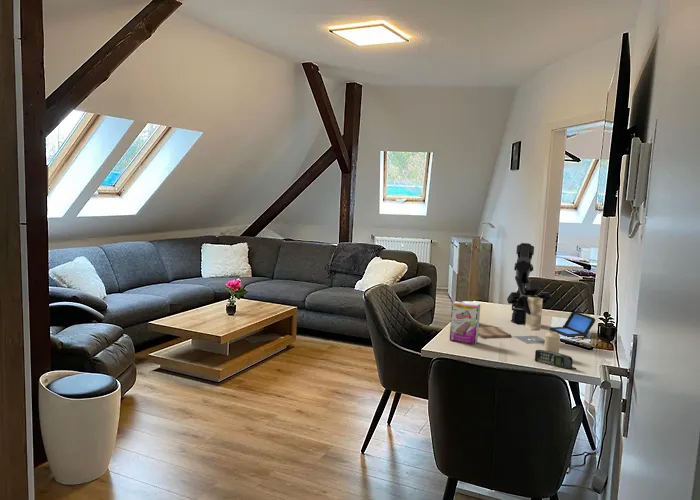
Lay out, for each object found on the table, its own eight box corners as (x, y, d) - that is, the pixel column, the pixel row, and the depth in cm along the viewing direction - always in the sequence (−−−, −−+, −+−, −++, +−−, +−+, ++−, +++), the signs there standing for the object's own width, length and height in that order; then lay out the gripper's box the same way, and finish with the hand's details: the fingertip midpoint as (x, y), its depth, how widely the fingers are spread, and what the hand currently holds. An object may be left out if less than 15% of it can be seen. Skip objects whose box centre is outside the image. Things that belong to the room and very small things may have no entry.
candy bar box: (449, 340, 227) (451, 302, 226) (452, 338, 232) (454, 301, 230) (475, 344, 223) (478, 306, 221) (477, 342, 227) (480, 304, 225)
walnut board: (495, 329, 251) (495, 327, 250) (511, 337, 237) (511, 334, 237) (468, 330, 247) (468, 327, 247) (482, 338, 234) (482, 335, 234)
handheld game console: (548, 330, 255) (549, 311, 254) (571, 329, 258) (572, 310, 258) (570, 339, 240) (572, 319, 239) (594, 338, 244) (596, 318, 243)
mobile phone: (534, 349, 203) (575, 357, 193) (537, 348, 205) (577, 356, 195) (533, 362, 203) (574, 371, 194) (536, 360, 206) (577, 369, 196)
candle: (541, 354, 213) (543, 329, 212) (554, 354, 213) (556, 330, 212) (547, 358, 207) (549, 333, 206) (561, 358, 208) (563, 333, 207)
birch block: (534, 327, 237) (536, 296, 235) (540, 330, 232) (542, 298, 231) (525, 328, 236) (527, 296, 234) (531, 330, 231) (533, 298, 230)
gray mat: (536, 336, 242) (536, 335, 242) (552, 343, 230) (552, 343, 230) (512, 336, 239) (512, 336, 239) (527, 344, 227) (527, 343, 227)
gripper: (512, 274, 234) (522, 304, 224) (550, 274, 238) (563, 304, 228) (502, 288, 243) (512, 318, 233) (539, 288, 246) (551, 317, 237)
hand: (535, 314), depth 232 cm, fingers closed on birch block, 5 cm apart
